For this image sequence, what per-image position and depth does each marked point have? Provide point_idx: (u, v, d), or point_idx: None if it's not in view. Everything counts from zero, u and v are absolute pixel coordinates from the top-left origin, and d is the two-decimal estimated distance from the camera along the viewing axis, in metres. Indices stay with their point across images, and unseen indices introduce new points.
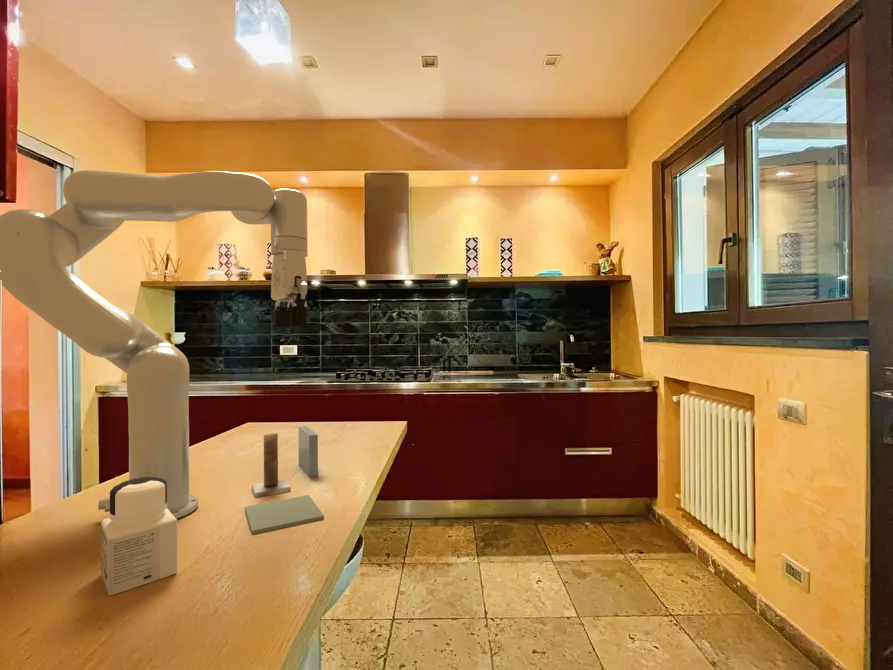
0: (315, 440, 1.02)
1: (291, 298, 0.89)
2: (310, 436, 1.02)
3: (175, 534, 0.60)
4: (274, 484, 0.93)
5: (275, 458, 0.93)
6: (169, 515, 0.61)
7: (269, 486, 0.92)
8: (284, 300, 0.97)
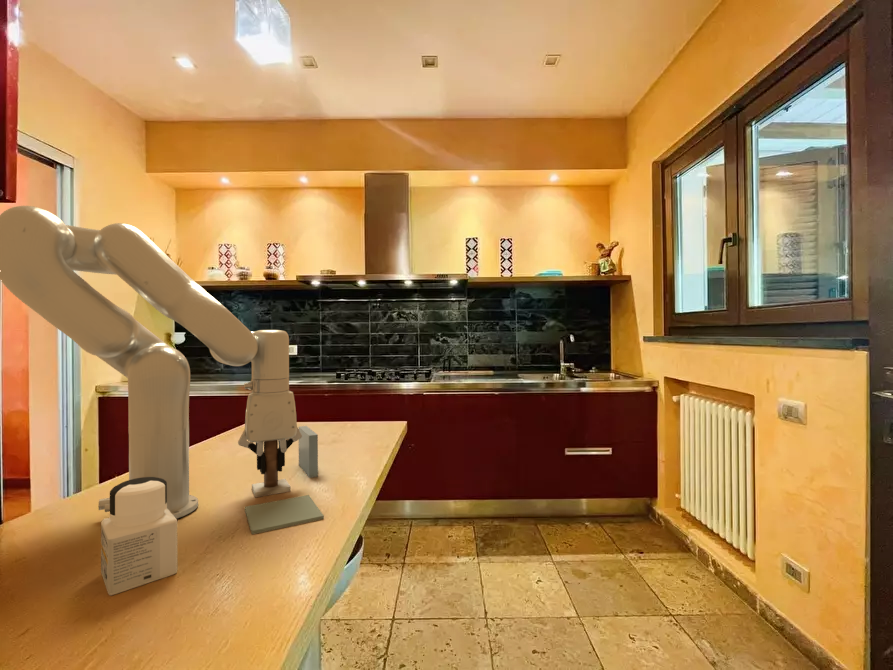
0: (315, 440, 1.02)
1: (283, 443, 0.94)
2: (310, 436, 1.02)
3: (175, 534, 0.60)
4: (274, 484, 0.93)
5: (275, 458, 0.93)
6: (169, 515, 0.61)
7: (269, 486, 0.92)
8: None
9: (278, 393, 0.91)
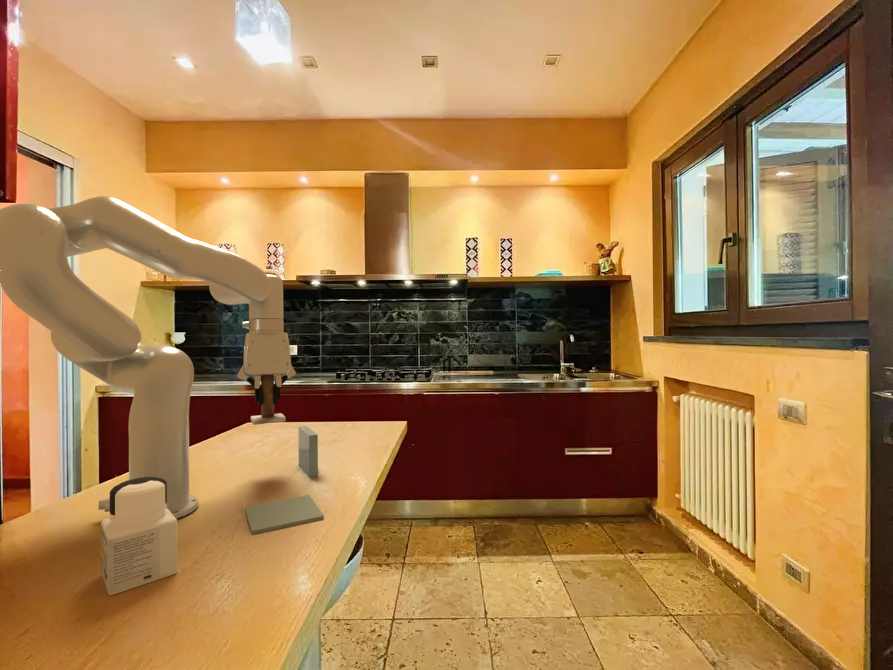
0: (315, 440, 1.02)
1: (279, 378, 1.03)
2: (310, 436, 1.02)
3: (175, 534, 0.60)
4: (271, 415, 1.02)
5: (271, 391, 1.02)
6: (169, 515, 0.61)
7: (266, 416, 1.01)
8: None
9: (273, 331, 1.00)
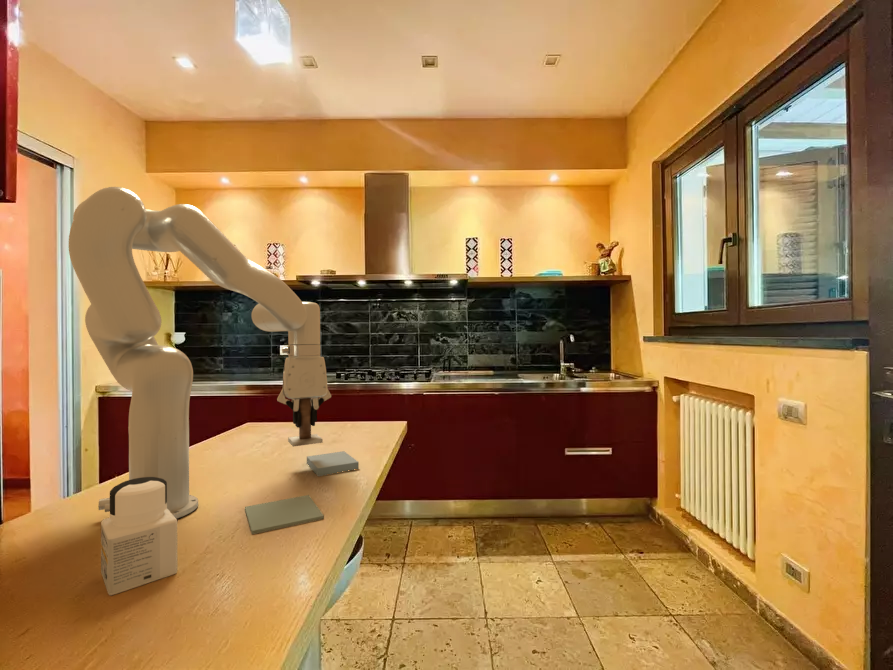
0: (353, 468, 1.07)
1: (316, 401, 1.07)
2: (357, 463, 1.07)
3: (175, 534, 0.60)
4: (308, 436, 1.06)
5: (309, 414, 1.06)
6: (169, 515, 0.61)
7: (304, 438, 1.06)
8: None
9: (312, 356, 1.04)
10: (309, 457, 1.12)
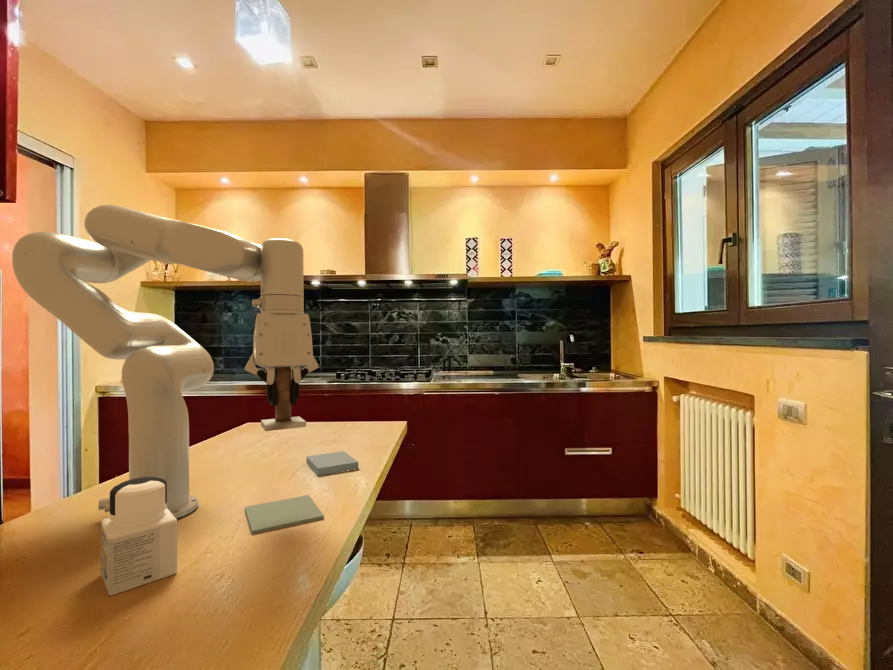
0: (353, 468, 1.07)
1: (298, 372, 0.81)
2: (357, 463, 1.07)
3: (175, 534, 0.60)
4: (287, 418, 0.80)
5: (288, 388, 0.80)
6: (169, 515, 0.61)
7: (281, 420, 0.79)
8: None
9: (292, 311, 0.78)
10: (309, 457, 1.12)
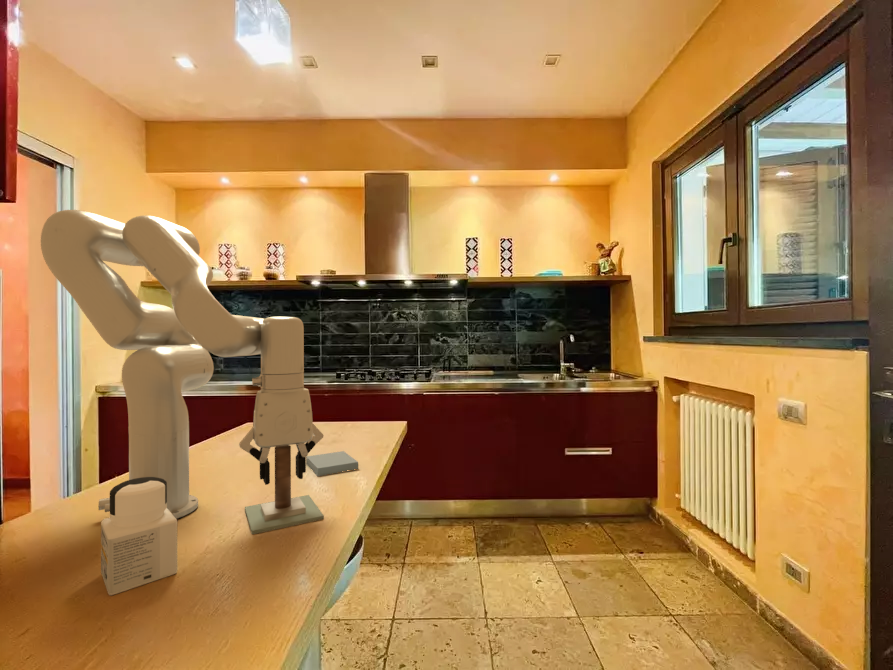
0: (353, 468, 1.07)
1: (303, 446, 0.81)
2: (357, 463, 1.07)
3: (175, 534, 0.60)
4: (287, 504, 0.80)
5: (288, 474, 0.80)
6: (169, 515, 0.61)
7: (281, 507, 0.79)
8: None
9: (292, 390, 0.78)
10: (309, 457, 1.12)
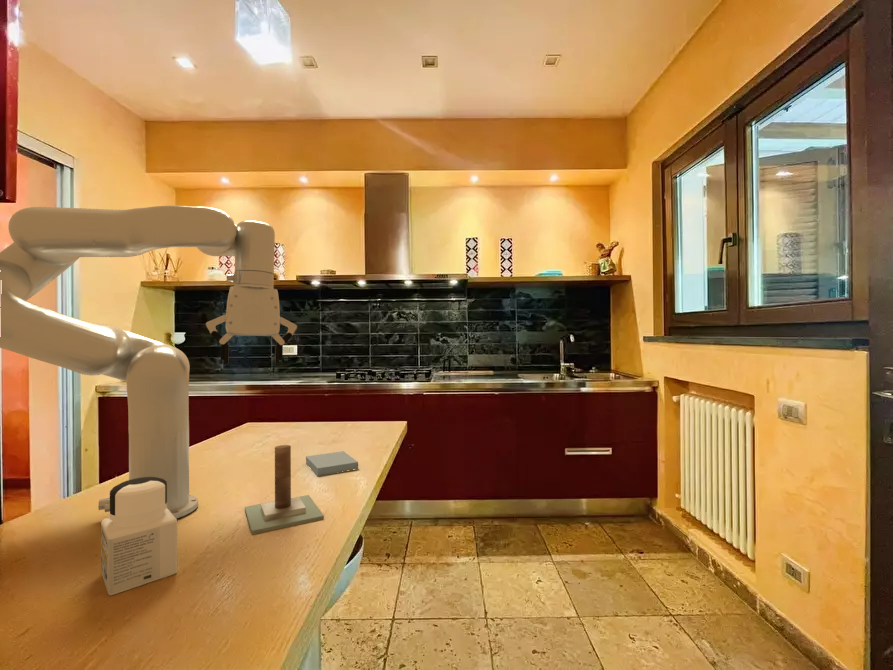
0: (353, 468, 1.07)
1: (277, 336, 0.91)
2: (357, 463, 1.07)
3: (175, 534, 0.60)
4: (287, 504, 0.80)
5: (288, 474, 0.80)
6: (169, 515, 0.61)
7: (281, 507, 0.79)
8: None
9: (260, 286, 0.87)
10: (308, 457, 1.12)
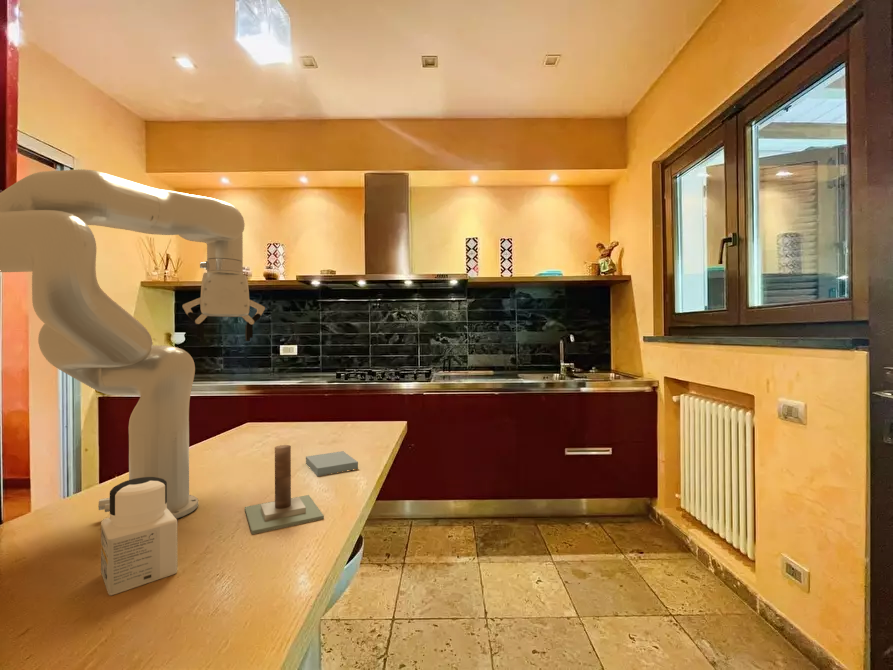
0: (352, 468, 1.07)
1: (247, 317, 1.03)
2: (357, 463, 1.07)
3: (175, 534, 0.60)
4: (287, 504, 0.80)
5: (288, 474, 0.80)
6: (169, 515, 0.61)
7: (281, 507, 0.79)
8: None
9: (231, 272, 0.99)
10: (308, 457, 1.12)
